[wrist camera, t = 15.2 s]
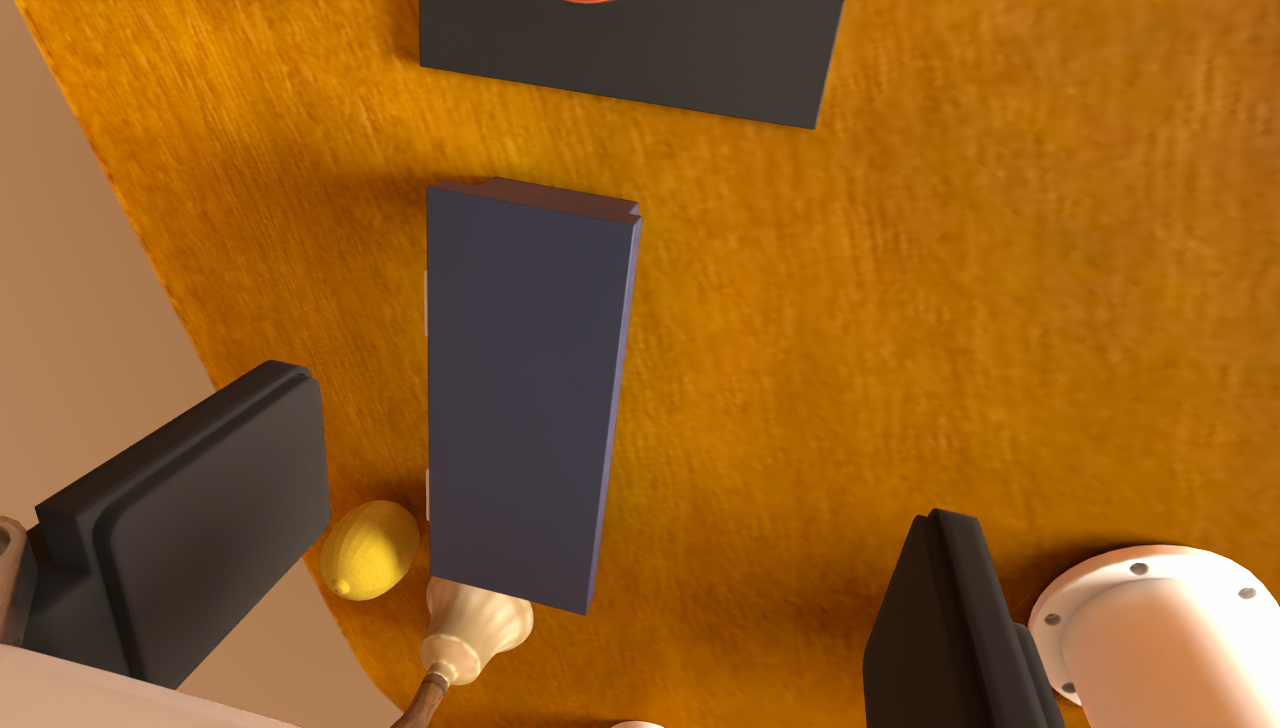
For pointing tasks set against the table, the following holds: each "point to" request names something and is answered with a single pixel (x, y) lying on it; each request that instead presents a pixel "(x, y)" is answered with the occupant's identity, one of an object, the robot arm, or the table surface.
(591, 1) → the pot
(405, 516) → the lemon
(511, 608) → the hand bell
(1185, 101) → the table surface
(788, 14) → the mat
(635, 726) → the cylindrical container
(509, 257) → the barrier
